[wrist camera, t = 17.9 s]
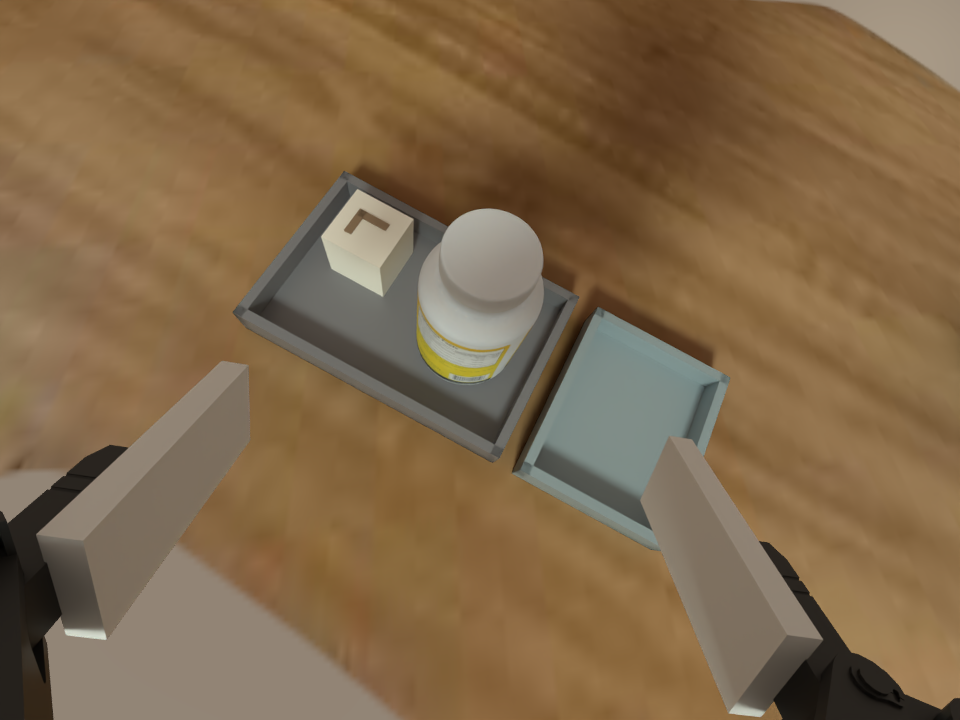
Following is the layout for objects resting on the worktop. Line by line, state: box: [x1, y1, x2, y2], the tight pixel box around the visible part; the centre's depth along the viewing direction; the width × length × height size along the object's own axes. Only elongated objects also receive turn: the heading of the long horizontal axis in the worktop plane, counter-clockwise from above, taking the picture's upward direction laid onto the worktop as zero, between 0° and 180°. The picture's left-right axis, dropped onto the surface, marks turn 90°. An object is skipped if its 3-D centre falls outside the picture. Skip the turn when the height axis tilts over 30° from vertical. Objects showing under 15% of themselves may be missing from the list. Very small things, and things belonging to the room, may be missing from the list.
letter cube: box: [321, 189, 414, 297], centre depth 31 cm, size 4×4×4 cm
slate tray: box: [512, 307, 730, 551], centre depth 32 cm, size 12×10×2 cm
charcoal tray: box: [233, 171, 579, 463], centre depth 32 cm, size 12×18×2 cm
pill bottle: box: [416, 209, 544, 385], centre depth 27 cm, size 6×6×12 cm
